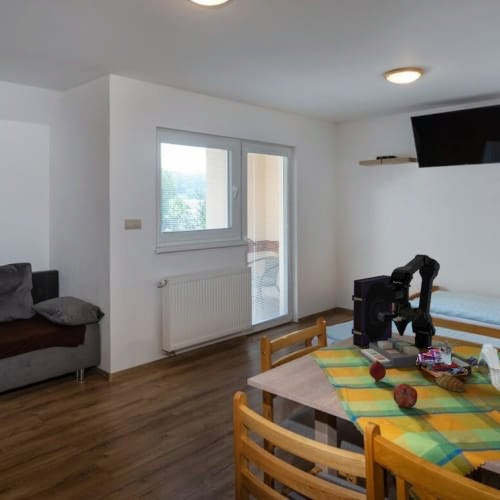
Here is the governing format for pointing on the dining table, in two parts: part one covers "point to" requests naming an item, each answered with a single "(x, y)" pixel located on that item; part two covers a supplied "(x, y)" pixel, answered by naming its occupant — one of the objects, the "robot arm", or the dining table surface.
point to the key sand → (411, 350)
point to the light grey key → (384, 344)
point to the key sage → (401, 345)
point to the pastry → (451, 383)
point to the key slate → (394, 340)
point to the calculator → (453, 366)
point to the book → (370, 310)
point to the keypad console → (388, 356)
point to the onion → (377, 371)
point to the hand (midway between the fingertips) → (401, 335)
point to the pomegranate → (405, 395)
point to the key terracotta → (392, 351)
